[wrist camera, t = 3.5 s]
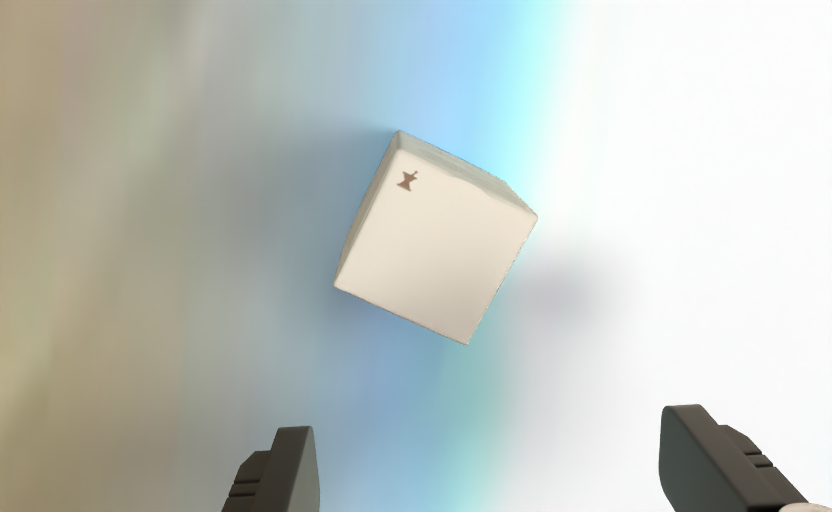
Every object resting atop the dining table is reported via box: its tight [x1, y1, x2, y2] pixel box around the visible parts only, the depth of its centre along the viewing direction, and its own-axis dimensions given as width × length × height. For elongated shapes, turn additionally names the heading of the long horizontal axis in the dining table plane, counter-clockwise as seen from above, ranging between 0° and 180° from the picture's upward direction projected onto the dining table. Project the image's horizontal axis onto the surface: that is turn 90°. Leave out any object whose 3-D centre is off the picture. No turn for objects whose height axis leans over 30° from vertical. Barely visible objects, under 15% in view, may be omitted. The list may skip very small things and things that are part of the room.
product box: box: [333, 130, 538, 345], centre depth 28 cm, size 6×6×7 cm
